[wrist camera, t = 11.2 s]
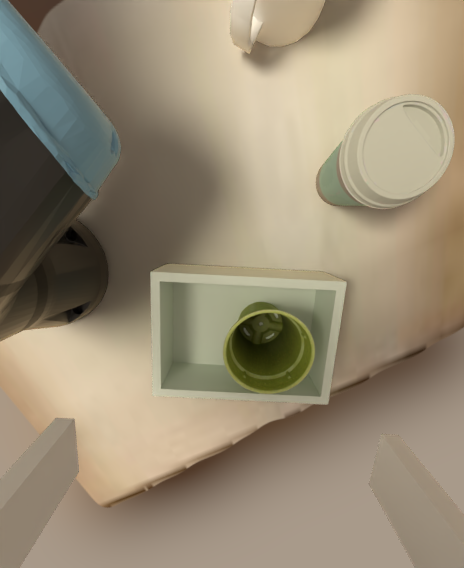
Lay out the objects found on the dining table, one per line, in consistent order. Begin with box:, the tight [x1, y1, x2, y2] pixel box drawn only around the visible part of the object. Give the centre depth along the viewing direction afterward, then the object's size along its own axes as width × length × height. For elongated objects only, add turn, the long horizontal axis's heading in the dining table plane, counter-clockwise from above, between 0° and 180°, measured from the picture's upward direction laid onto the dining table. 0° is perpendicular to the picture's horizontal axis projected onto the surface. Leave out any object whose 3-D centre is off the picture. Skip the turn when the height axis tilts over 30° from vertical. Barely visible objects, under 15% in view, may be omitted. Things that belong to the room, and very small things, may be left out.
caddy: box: [150, 263, 347, 404], centre depth 31 cm, size 21×15×7 cm
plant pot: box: [223, 302, 315, 394], centre depth 29 cm, size 9×9×9 cm
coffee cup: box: [316, 94, 454, 209], centre depth 24 cm, size 9×8×12 cm
